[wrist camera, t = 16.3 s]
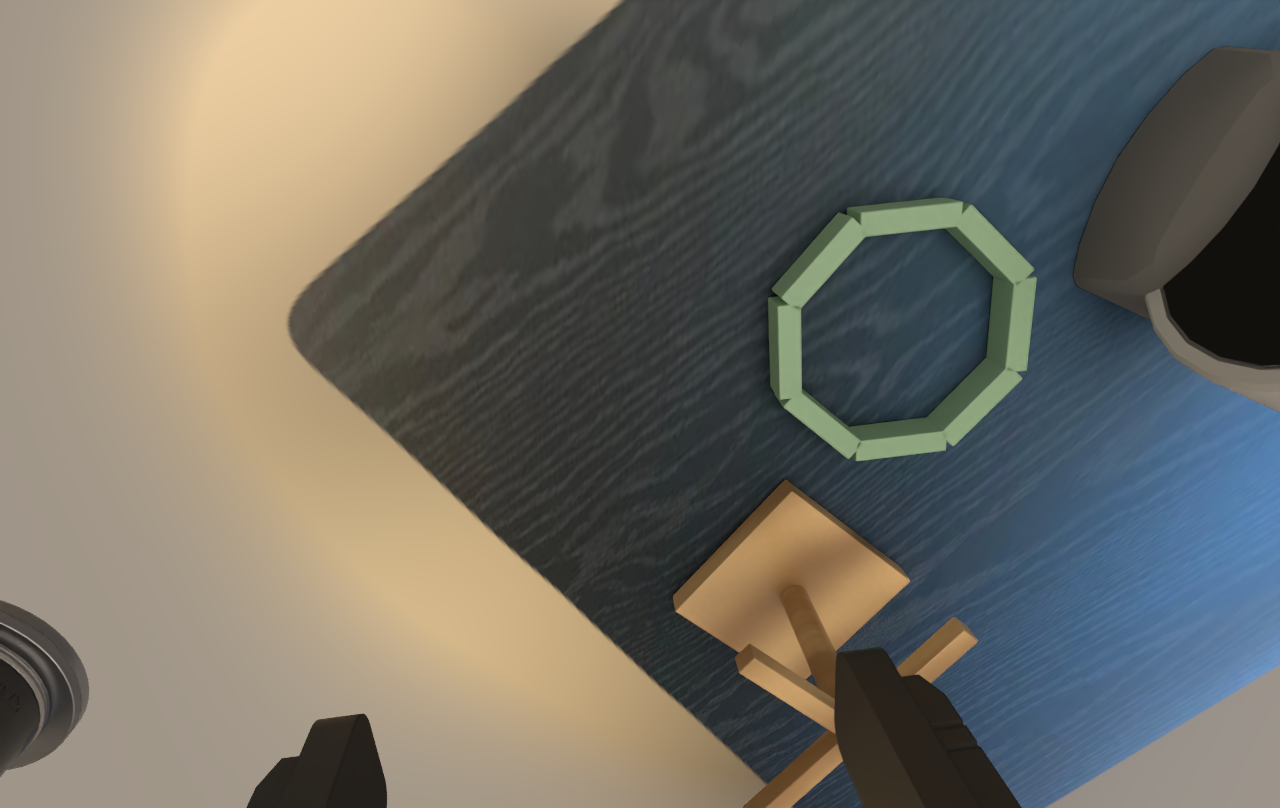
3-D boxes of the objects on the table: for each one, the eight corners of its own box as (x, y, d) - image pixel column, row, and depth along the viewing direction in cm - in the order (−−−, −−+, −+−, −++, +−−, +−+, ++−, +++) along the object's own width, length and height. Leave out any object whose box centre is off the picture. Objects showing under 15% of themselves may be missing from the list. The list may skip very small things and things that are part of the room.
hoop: (1060, 309, 39) (1084, 319, 37) (884, 483, 42) (899, 500, 40) (897, 144, 35) (915, 145, 34) (717, 349, 38) (724, 360, 37)
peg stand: (945, 560, 45) (1079, 721, 33) (789, 706, 48) (859, 900, 36) (783, 433, 41) (870, 564, 29) (625, 602, 44) (643, 781, 32)
